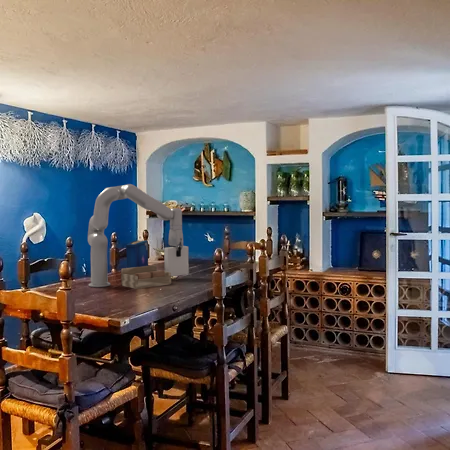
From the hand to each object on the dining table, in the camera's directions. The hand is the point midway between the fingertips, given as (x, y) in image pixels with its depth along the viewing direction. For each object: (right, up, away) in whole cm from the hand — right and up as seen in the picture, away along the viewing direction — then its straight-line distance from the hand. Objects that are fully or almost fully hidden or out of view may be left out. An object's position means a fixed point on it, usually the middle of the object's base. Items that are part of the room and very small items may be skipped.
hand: (176, 256), depth 315 cm
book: (-25, -16, -2) cm, 29 cm away
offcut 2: (-10, -16, -18) cm, 26 cm away
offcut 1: (-17, -16, -25) cm, 35 cm away
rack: (-16, -16, -19) cm, 29 cm away
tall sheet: (0, -12, +1) cm, 12 cm away
